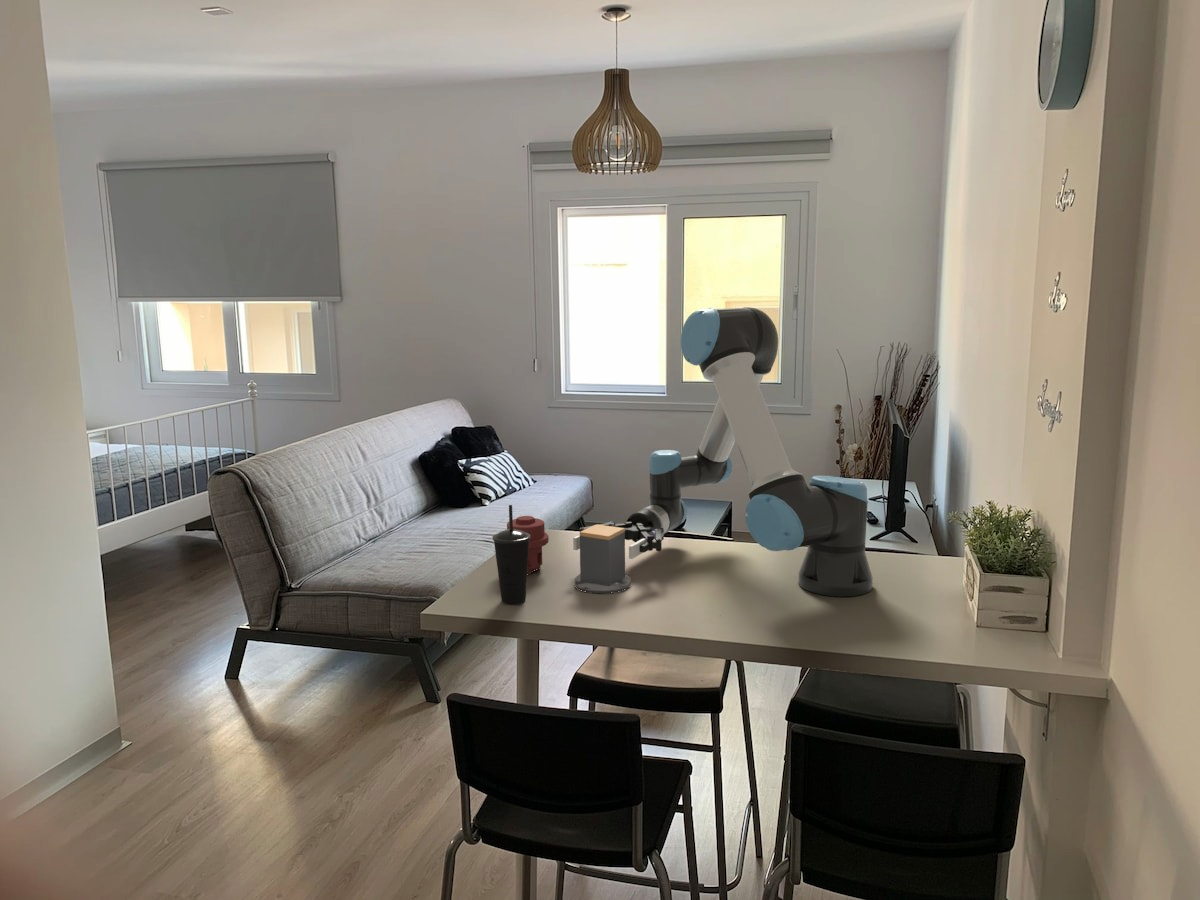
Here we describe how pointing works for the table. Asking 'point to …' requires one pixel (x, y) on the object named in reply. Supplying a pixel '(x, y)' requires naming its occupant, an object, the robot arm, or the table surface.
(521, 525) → the mechanical component
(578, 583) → the post base
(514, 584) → the drinking cup
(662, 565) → the table surface
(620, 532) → the sleeve
